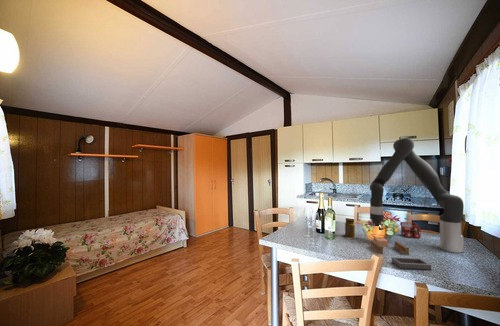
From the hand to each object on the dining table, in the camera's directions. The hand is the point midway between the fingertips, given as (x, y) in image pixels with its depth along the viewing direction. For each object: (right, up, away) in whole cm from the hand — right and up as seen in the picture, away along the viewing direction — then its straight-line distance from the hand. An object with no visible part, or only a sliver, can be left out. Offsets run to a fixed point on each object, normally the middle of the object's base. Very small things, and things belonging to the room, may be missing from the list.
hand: (376, 239), depth 134 cm
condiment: (-13, -2, +10) cm, 17 cm away
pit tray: (-3, -2, -32) cm, 32 cm away
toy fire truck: (+31, -3, +11) cm, 33 cm away
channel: (-1, -2, -14) cm, 14 cm away
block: (0, -2, -5) cm, 5 cm away
